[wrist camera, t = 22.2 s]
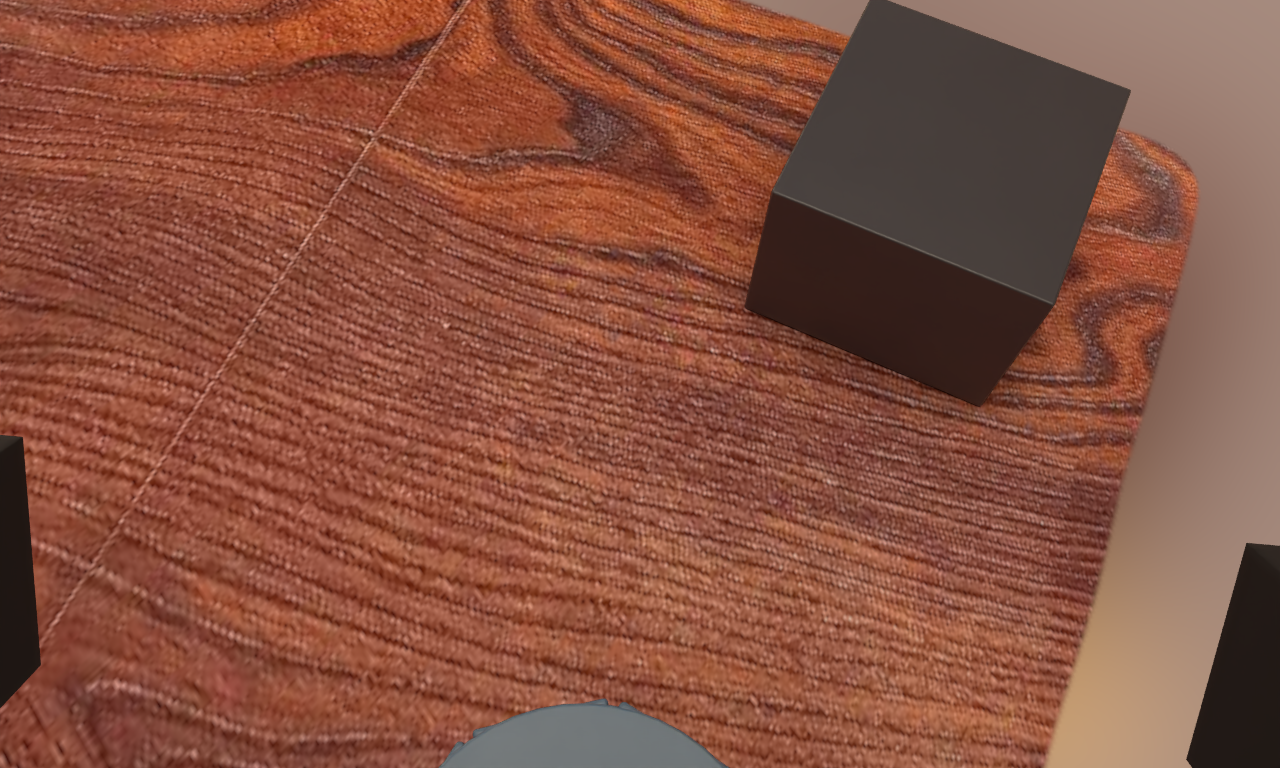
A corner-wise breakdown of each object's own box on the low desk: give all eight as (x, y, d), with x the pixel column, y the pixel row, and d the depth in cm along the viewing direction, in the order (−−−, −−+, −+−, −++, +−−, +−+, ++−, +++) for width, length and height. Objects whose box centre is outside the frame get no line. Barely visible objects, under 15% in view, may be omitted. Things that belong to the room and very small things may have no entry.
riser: (1052, 215, 48) (1132, 89, 41) (980, 407, 44) (1054, 306, 37) (832, 129, 50) (872, -7, 43) (743, 308, 46) (771, 191, 39)
